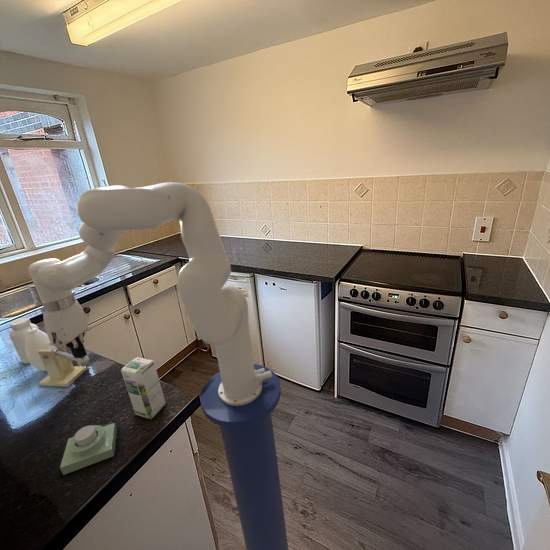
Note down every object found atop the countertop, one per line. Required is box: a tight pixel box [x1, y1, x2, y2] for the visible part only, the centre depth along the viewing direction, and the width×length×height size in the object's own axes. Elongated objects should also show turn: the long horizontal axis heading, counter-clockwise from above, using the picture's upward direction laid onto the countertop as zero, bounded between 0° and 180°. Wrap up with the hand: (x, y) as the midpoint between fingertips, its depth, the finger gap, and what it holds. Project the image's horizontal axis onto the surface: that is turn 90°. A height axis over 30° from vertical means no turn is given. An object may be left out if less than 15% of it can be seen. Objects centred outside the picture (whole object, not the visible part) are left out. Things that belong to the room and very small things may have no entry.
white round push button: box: [73, 424, 97, 447], centre depth 67 cm, size 4×4×2 cm
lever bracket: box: [38, 343, 88, 388], centre depth 93 cm, size 10×8×12 cm
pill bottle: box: [9, 317, 41, 364], centre depth 105 cm, size 8×8×15 cm
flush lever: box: [47, 345, 90, 367], centre depth 92 cm, size 13×3×3 cm, turn 81°
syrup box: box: [120, 356, 167, 420], centre depth 77 cm, size 6×6×14 cm
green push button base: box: [59, 422, 118, 476], centre depth 68 cm, size 10×8×4 cm
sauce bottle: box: [25, 323, 51, 372], centre depth 97 cm, size 8×8×18 cm
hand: (80, 356), depth 91 cm, fingers closed
